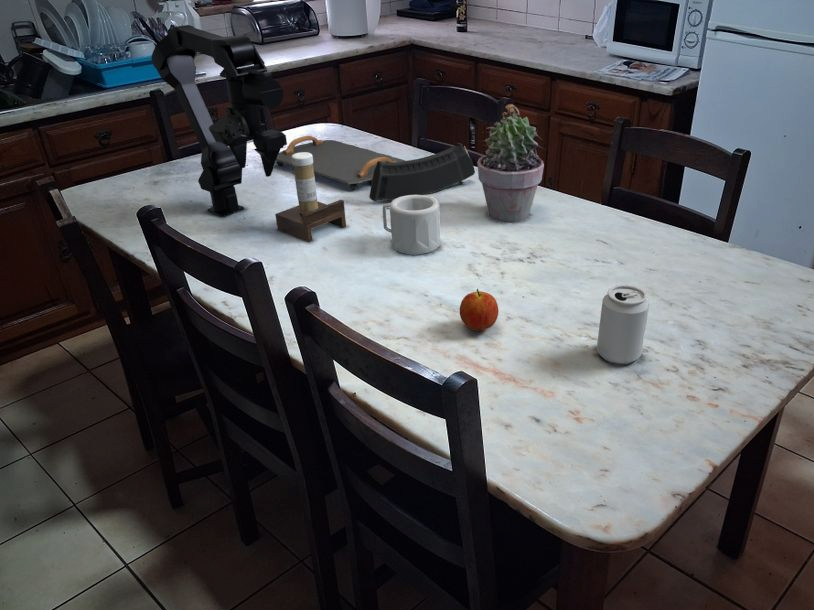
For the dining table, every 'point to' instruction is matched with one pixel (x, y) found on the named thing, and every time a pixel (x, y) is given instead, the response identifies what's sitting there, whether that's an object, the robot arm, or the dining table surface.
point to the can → (622, 324)
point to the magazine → (421, 174)
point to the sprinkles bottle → (305, 181)
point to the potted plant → (510, 168)
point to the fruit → (479, 310)
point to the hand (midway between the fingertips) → (255, 172)
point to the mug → (414, 224)
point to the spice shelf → (310, 219)
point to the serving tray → (337, 160)
